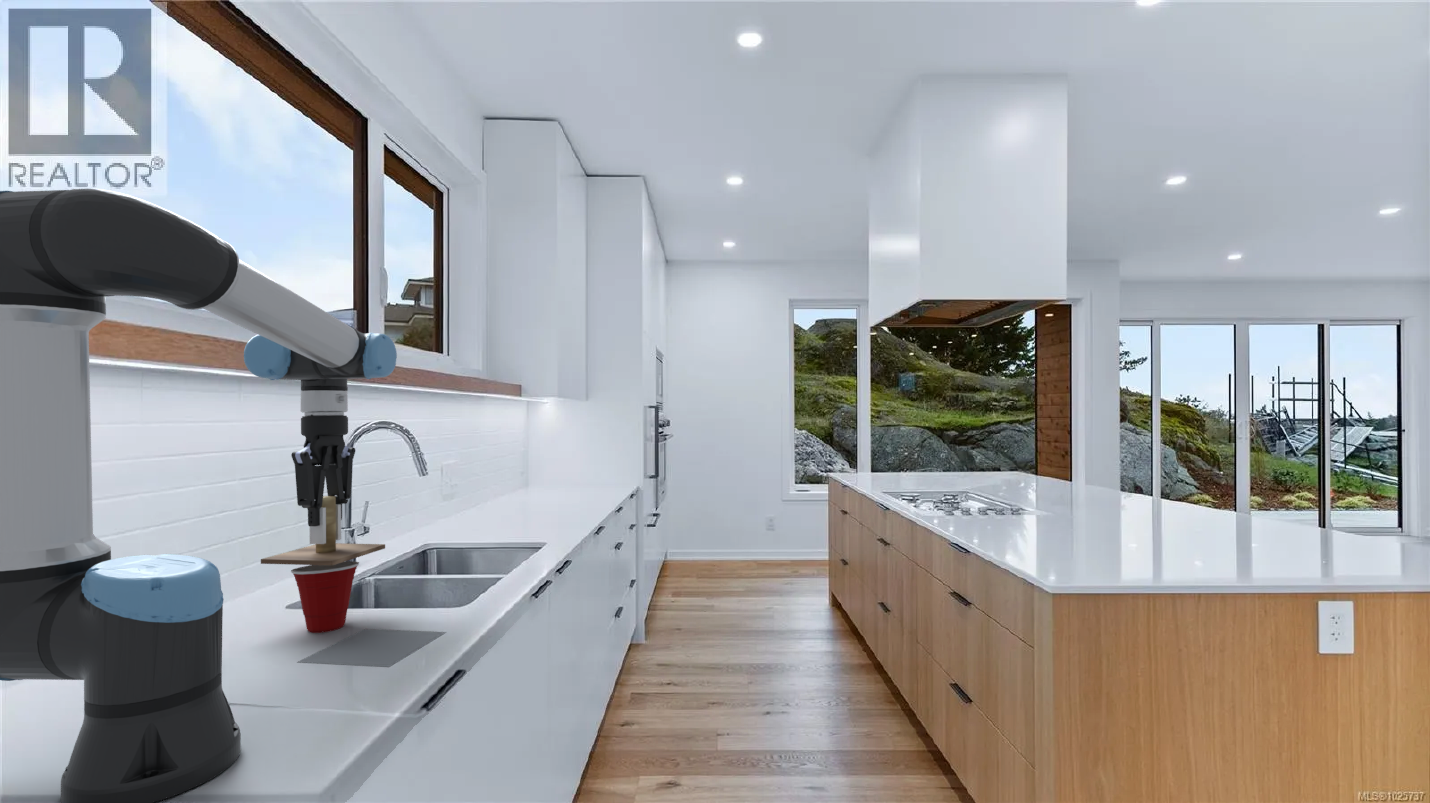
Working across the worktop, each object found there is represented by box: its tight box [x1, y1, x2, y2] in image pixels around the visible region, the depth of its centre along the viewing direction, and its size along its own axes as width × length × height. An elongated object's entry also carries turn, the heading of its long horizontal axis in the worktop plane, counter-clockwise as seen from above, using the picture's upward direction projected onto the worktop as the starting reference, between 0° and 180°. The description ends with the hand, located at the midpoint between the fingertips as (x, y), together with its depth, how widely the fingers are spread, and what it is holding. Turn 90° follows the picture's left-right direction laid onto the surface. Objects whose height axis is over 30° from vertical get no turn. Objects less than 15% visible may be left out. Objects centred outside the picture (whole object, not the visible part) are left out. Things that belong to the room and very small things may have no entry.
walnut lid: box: [260, 495, 386, 566], centre depth 121 cm, size 14×14×11 cm
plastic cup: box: [290, 560, 360, 634], centre depth 121 cm, size 11×11×12 cm
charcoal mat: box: [296, 628, 447, 668], centre depth 110 cm, size 16×16×1 cm
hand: (325, 541), depth 121 cm, fingers closed on walnut lid, 3 cm apart
